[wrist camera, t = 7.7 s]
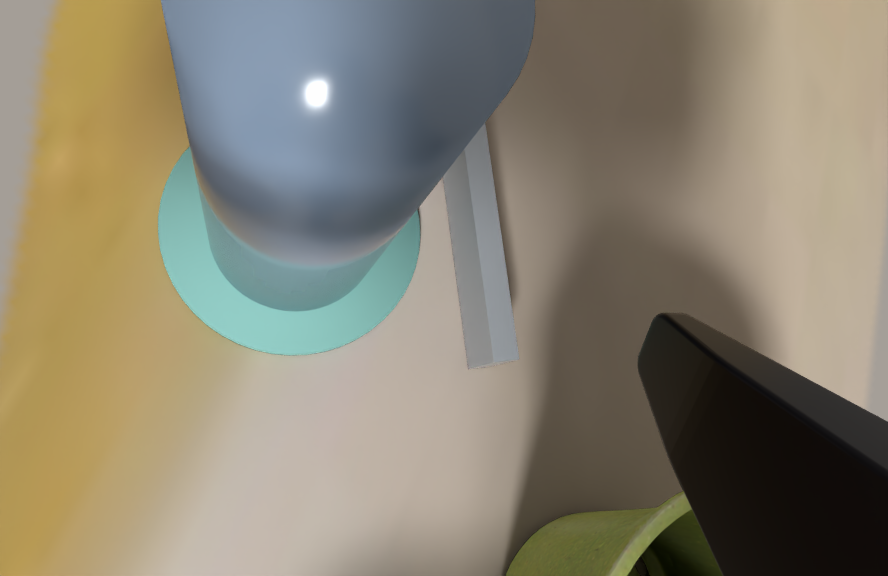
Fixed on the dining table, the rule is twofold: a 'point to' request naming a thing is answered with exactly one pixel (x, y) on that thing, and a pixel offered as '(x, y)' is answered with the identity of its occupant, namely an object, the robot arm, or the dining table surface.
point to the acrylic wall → (479, 257)
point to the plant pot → (619, 544)
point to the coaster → (251, 320)
